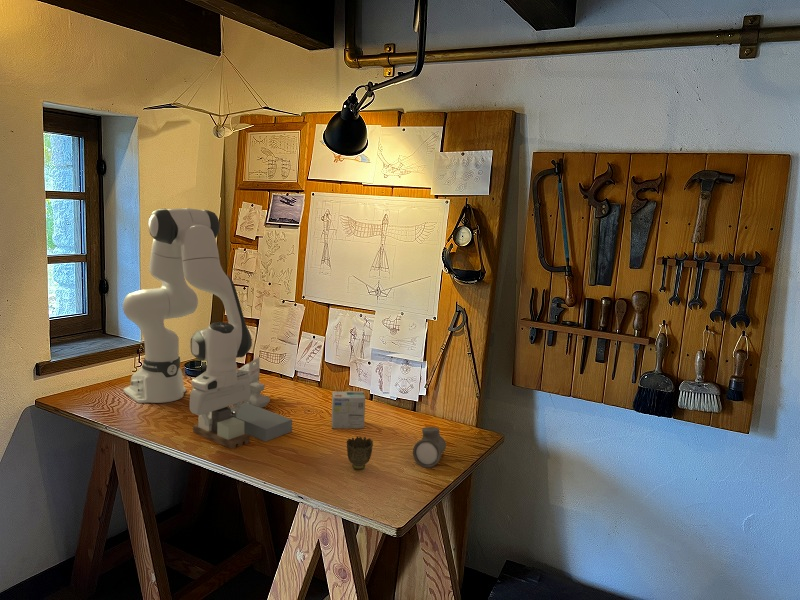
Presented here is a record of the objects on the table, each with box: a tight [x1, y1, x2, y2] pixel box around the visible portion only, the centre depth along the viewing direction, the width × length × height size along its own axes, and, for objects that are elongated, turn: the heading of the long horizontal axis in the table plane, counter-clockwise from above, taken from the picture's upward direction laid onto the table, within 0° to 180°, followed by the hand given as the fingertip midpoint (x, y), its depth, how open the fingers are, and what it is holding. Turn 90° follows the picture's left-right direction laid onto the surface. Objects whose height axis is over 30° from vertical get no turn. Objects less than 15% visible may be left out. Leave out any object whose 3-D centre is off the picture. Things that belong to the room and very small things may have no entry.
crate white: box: [197, 412, 212, 431], centre depth 192 cm, size 5×6×4 cm
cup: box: [346, 436, 374, 471], centre depth 174 cm, size 8×7×8 cm
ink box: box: [237, 356, 260, 395], centre depth 223 cm, size 9×5×15 cm, turn 168°
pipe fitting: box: [412, 426, 447, 469], centre depth 183 cm, size 12×8×10 cm
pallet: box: [192, 406, 251, 450], centre depth 189 cm, size 18×7×9 cm, turn 55°
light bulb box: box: [331, 390, 366, 430], centre depth 205 cm, size 11×7×11 cm, turn 100°
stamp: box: [243, 382, 271, 408], centre depth 216 cm, size 9×7×8 cm
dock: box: [228, 402, 293, 442], centre depth 199 cm, size 22×11×4 cm, turn 55°
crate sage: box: [217, 417, 244, 440], centre depth 187 cm, size 5×6×4 cm
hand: (221, 420), depth 189 cm, fingers open, 8 cm apart
